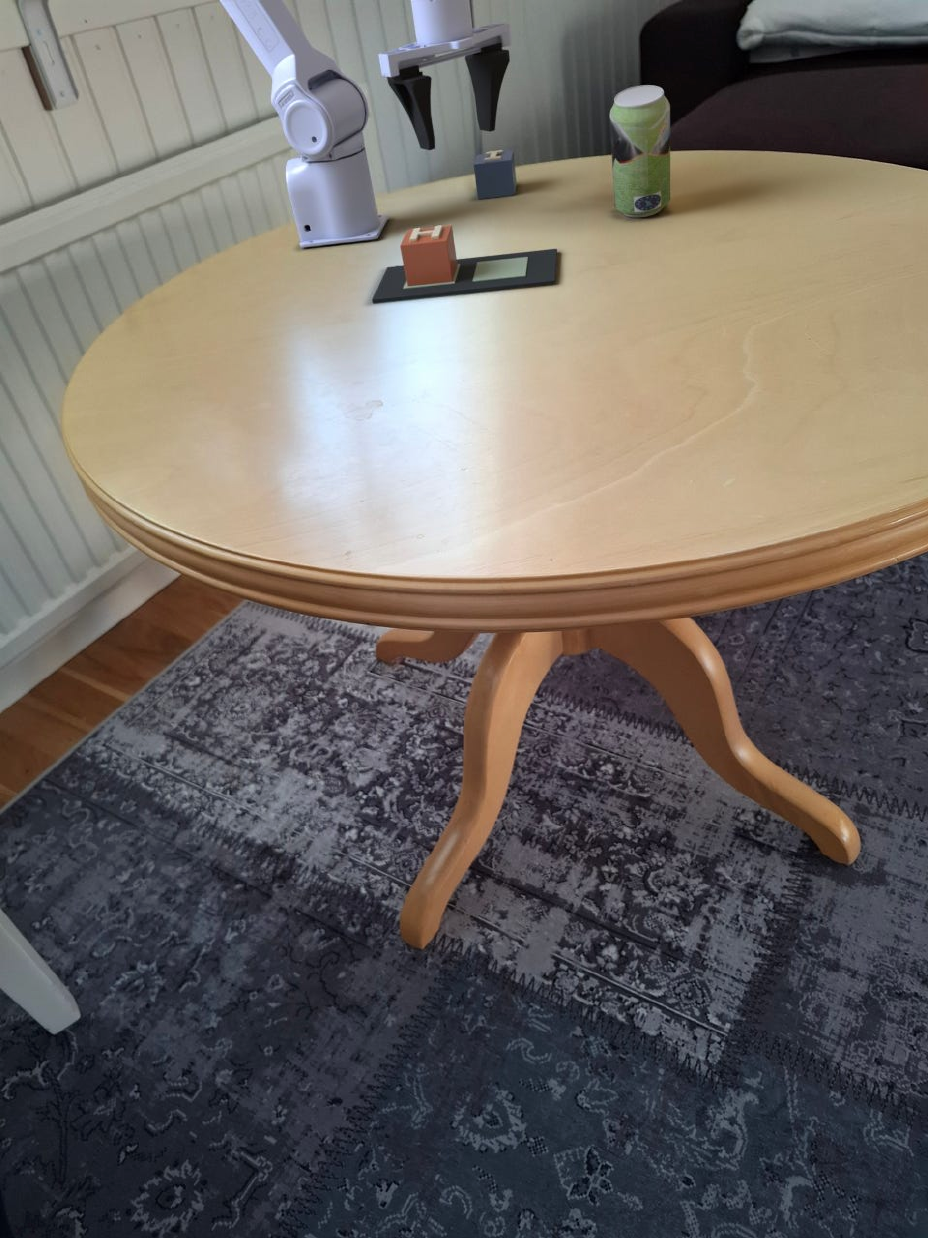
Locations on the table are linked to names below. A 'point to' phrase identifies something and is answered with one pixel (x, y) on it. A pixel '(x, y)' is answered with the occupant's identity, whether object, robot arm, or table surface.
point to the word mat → (475, 276)
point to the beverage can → (640, 150)
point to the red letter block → (429, 255)
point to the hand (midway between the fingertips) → (458, 138)
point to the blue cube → (495, 174)
